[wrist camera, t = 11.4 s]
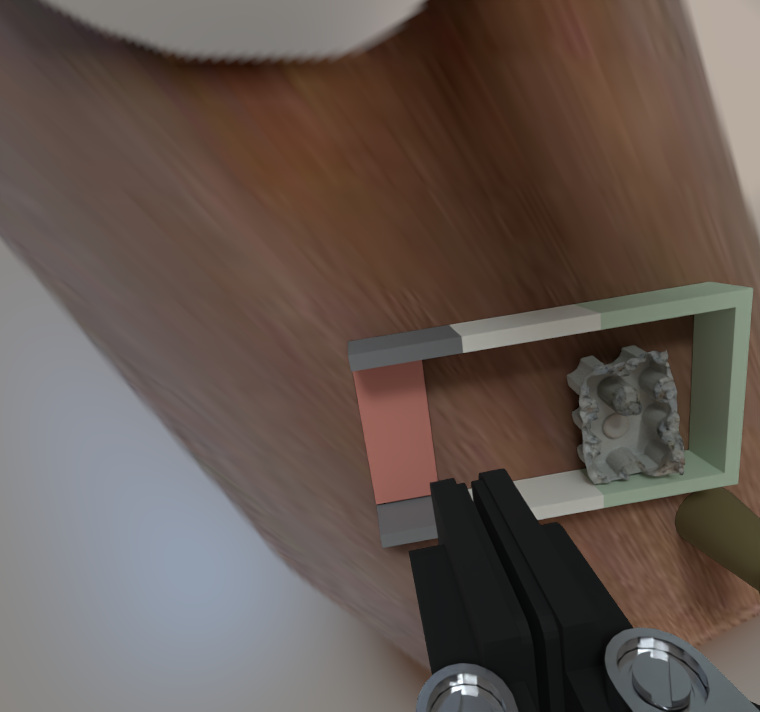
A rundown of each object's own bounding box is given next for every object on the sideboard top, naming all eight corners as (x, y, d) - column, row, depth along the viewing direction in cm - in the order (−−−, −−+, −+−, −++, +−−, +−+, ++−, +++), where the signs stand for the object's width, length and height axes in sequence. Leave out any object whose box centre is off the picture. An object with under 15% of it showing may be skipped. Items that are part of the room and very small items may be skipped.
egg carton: (657, 453, 40) (688, 480, 36) (570, 469, 40) (592, 498, 36) (656, 337, 36) (690, 353, 32) (561, 355, 37) (584, 374, 33)
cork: (746, 522, 43) (876, 617, 33) (688, 553, 44) (798, 657, 33) (725, 474, 42) (855, 559, 31) (665, 508, 42) (773, 602, 31)
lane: (347, 341, 36) (348, 355, 32) (710, 281, 36) (753, 288, 33) (378, 517, 40) (382, 548, 36) (701, 459, 41) (738, 483, 37)
